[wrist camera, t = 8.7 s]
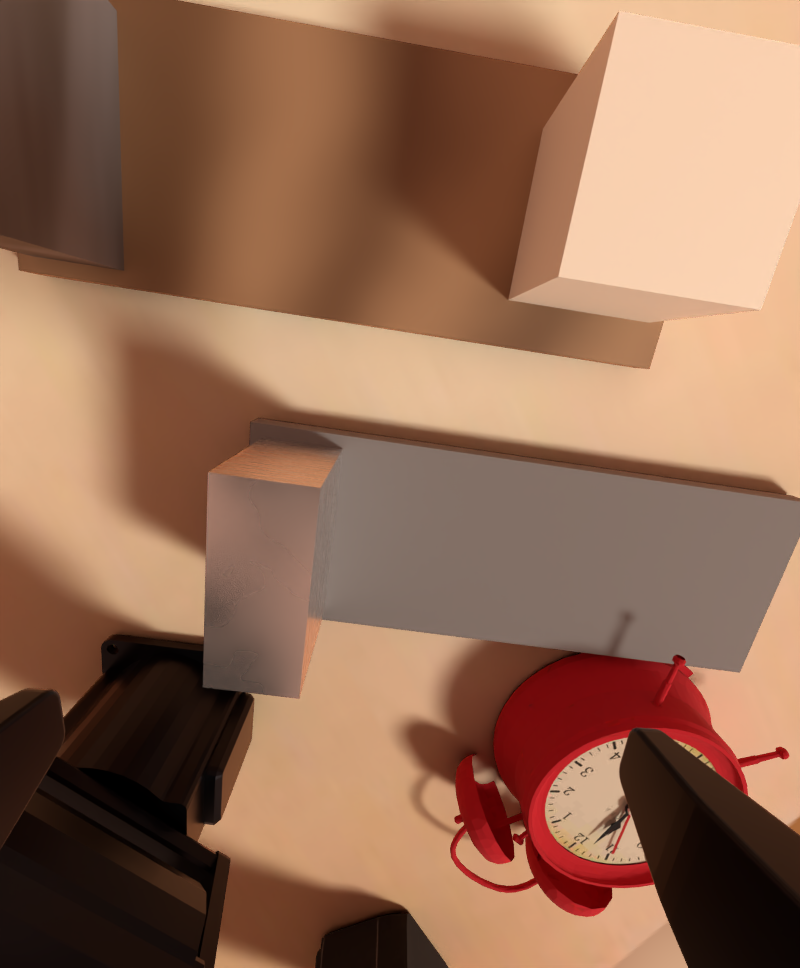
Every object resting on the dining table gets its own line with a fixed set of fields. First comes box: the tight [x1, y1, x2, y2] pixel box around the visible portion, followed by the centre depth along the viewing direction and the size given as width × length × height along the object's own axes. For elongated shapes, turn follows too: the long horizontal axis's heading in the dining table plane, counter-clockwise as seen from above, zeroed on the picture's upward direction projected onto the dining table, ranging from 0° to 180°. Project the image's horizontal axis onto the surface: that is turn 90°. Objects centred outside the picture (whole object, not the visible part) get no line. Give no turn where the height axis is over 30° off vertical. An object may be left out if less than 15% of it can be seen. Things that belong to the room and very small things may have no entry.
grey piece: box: [203, 418, 800, 699], centre depth 16 cm, size 22×8×6 cm, turn 82°
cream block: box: [508, 11, 800, 323], centre depth 12 cm, size 5×5×5 cm
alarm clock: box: [450, 653, 789, 917], centre depth 20 cm, size 10×6×15 cm
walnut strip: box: [0, 0, 664, 369], centre depth 12 cm, size 22×8×6 cm, turn 82°
